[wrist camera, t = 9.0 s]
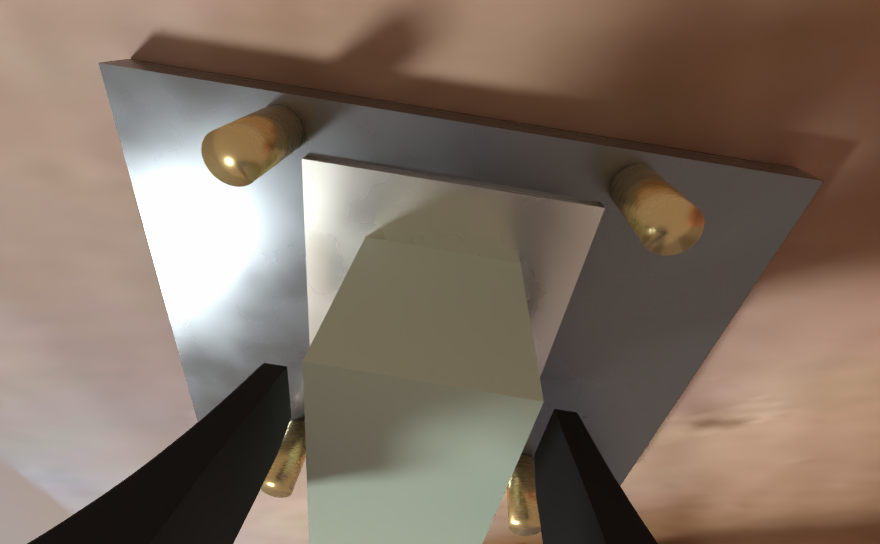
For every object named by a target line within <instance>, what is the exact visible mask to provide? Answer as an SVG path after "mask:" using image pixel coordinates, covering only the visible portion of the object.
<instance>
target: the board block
mask: <svg viewBox="0 0 880 544" xmlns="http://www.w3.org/2000/svg"><path fill="white" fill-rule="evenodd" d="M303 386H304V412H305V439H306V466H307V493H308V520H309V544H482V543H483V541H484V539H485V536H486V534H487V532H488V530H489V527H490V525H491V523H492V520H493V518H494V516H495V513H496V511H497V509H498V506H499V504H500V502H501V499H502V497H503V495H504V493H505V490H506V488H507V486H508V483H509V481H510V479H511V476H512V474H513V472H514V469H515V467H516V465H517V463H518V460H519V458H520V456H521V453H522V451H523V449H524V446H525V444H526V442H527V439H528V437H529V435H530V432H531V430H532V428H533V426H534V423H535V421H536V419H537V416H538V414H539V412H540V409H541V407H542V405H543V402H544V400H543V394H542V388H541V382H540V376H539V370H538V364H537V358H536V353H535V347H534V341H533V335H532V329H531V323H530V317H529V311H528V305H527V299H526V293H525V287H524V281H523V275H522V269H521V263H516V262H511V261H505V260H499V259H493V258H488V257H482V256H476V255H470V254H464V253H459V252H453V251H447V250H441V249H436V248H430V247H424V246H418V245H413V244H407V243H401V242H395V241H390V240H384V239H378V238H372V237H367V236H366V237H365V239H364V241H363V243H362V244H361V246H360V248H359V250H358V252H357V254H356V256H355V258H354V260H353V262H352V264H351V266H350V268H349V270H348V272H347V274H346V276H345V278H344V280H343V282H342V284H341V286H340V288H339V290H338V292H337V294H336V296H335V298H334V300H333V302H332V304H331V306H330V308H329V310H328V312H327V314H326V316H325V318H324V320H323V322H322V324H321V326H320V328H319V330H318V332H317V334H316V336H315V338H314V339H313V341H312V343H311V345H310V347H309V349H308V351H307V353H306V355H305V357H304V359H303Z"/></svg>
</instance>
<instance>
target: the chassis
mask: <svg viewBox="0 0 880 544" xmlns="http://www.w3.org/2000/svg"><path fill="white" fill-rule="evenodd" d="M99 66H100V70H101V73H102V77H103V80H104V84H105V88H106V91H107V95H108V99H109V102H110V106H111V109H112V113H113V117H114V120H115V124H116V128H117V131H118V135H119V138H120V142H121V146H122V149H123V153H124V156H125V160H126V164H127V167H128V171H129V175H130V178H131V182H132V185H133V189H134V193H135V196H136V200H137V203H138V207H139V211H140V214H141V218H142V222H143V225H144V229H145V232H146V236H147V240H148V243H149V247H150V250H151V254H152V258H153V261H154V265H155V269H156V272H157V276H158V279H159V283H160V287H161V290H162V294H163V297H164V301H165V305H166V308H167V312H168V316H169V319H170V323H171V326H172V330H173V334H174V337H175V341H176V344H177V348H178V352H179V355H180V359H181V363H182V366H183V370H184V373H185V377H186V381H187V384H188V388H189V391H190V395H191V399H192V402H193V406H194V410H195V413H196V417H197V420H198V422H199V421H200V420H201V419H202V418H203V417H205V416H206V415H207V414H208V413H209V412H210V411H211V410H213V409H214V408H215V407H216V406H217V405H218V404H219V403H221V402H222V401H223V400H224V399H225V398H226V397H227V396H228V395H229V394H231V393H232V392H233V391H234V390H235V389H236V388H237V387H238V386H239V385H240V384H241V383H242V382H244V381H245V380H246V379H247V378H248V377H249V376H250V375H251V374H252V373H253V372H254V371H255V370H256V369H257V368H258V367H259V366H261V365H262V364H264V363H268V364H275V365H281V366H287V371H288V382H289V394H290V406H291V419H290V422H289V425H288V427H287V430H286V433H285V436H284V439H283V441H282V444H281V446H280V449H279V452H278V454H277V456H276V458H275V460H274V463H273V465H272V467H271V469H270V471H269V473H268V475H267V477H266V479H265V481H264V483H263V485H262V487H261V490H262V491H263V492H265V493H266V494H268V495H271V496H274V497H288V496H290V495H291V494H292V491H293V489H294V486H295V484H296V481H297V478H298V476H299V473H300V471H301V468H302V466H303V463H304V460H305V458H306V439H305V412H304V386H303V359H304V357H305V355H306V353H307V351H308V349H309V347H310V345H311V343H312V341H313V339H314V338H315V336H316V334H317V332H318V330H319V328H320V326H321V324H322V322H323V320H324V318H325V316H326V314H327V312H328V310H329V308H330V306H331V304H332V302H333V300H334V298H335V296H336V294H337V292H338V290H339V288H340V286H341V284H342V282H343V280H344V278H345V276H346V274H347V272H348V270H349V268H350V266H351V264H352V262H353V260H354V258H355V256H356V254H357V252H358V250H359V248H360V246H361V244H362V243H363V241H364V239H365V237H366V236H367V237H372V238H378V239H384V240H390V241H395V242H401V243H407V244H413V245H418V246H424V247H430V248H436V249H441V250H447V251H453V252H459V253H464V254H470V255H476V256H482V257H488V258H493V259H499V260H505V261H511V262H516V263H521V269H522V275H523V281H524V287H525V293H526V299H527V305H528V311H529V317H530V323H531V329H532V335H533V341H534V347H535V353H536V358H537V364H538V370H539V376H540V382H541V388H542V394H543V400H544V402H543V405H542V407H541V409H540V412H539V414H538V416H537V419H536V421H535V423H534V426H533V428H532V430H531V432H530V435H529V437H528V439H527V442H526V444H525V446H524V449H523V451H522V453H521V456H520V458H519V460H518V463H517V465H516V467H515V469H514V472H513V474H512V476H511V479H510V481H509V483H508V486H507V502H508V519H509V529H510V530H511V531H512V532H513V533H515V534H518V535H523V536H530V535H535V534H537V533H539V532H540V531H541V526H540V519H539V513H538V506H537V499H536V488H535V463H534V454H535V452H536V449H537V447H538V445H539V443H540V440H541V438H542V436H543V433H544V431H545V429H546V427H547V424H548V422H549V420H550V417H551V415H552V413H553V411H554V409H559V410H565V411H572V412H577V413H578V415H579V416H580V418H581V420H582V421H583V423H584V425H585V427H586V429H587V430H588V432H589V434H590V436H591V438H592V439H593V441H594V443H595V445H596V446H597V448H598V450H599V452H600V453H601V455H602V457H603V458H604V460H605V462H606V464H607V465H608V467H609V469H610V470H611V472H612V474H613V475H614V477H615V479H616V480H617V482H618V483H619V485H621V484H622V482H623V481H624V479H625V478H626V476H627V475H628V473H629V472H630V470H631V469H632V467H633V466H634V464H635V463H636V461H637V460H638V459H639V457H640V456H641V454H642V453H643V451H644V450H645V448H646V447H647V445H648V444H649V442H650V441H651V439H652V438H653V436H654V435H655V433H656V432H657V430H658V429H659V427H660V426H661V424H662V423H663V421H664V420H665V418H666V417H667V415H668V414H669V412H670V411H671V409H672V408H673V406H674V405H675V403H676V402H677V400H678V399H679V397H680V396H681V394H682V393H683V391H684V390H685V388H686V387H687V385H688V384H689V382H690V381H691V379H692V378H693V376H694V375H695V373H696V372H697V370H698V369H699V367H700V366H701V364H702V363H703V361H704V360H705V358H706V357H707V355H708V354H709V352H710V351H711V349H712V348H713V346H714V345H715V343H716V342H717V340H718V339H719V337H720V336H721V335H722V333H723V332H724V330H725V329H726V327H727V326H728V324H729V323H730V321H731V320H732V318H733V317H734V315H735V314H736V312H737V311H738V309H739V308H740V306H741V305H742V303H743V302H744V300H745V299H746V297H747V296H748V294H749V293H750V291H751V290H752V288H753V287H754V285H755V284H756V282H757V281H758V279H759V278H760V276H761V275H762V273H763V272H764V270H765V269H766V267H767V266H768V264H769V263H770V261H771V260H772V258H773V257H774V255H775V254H776V252H777V251H778V249H779V248H780V246H781V245H782V243H783V242H784V240H785V239H786V237H787V236H788V234H789V233H790V231H791V230H792V228H793V227H794V225H795V224H796V222H797V221H798V219H799V218H800V216H801V215H802V213H803V212H804V211H805V209H806V208H807V206H808V205H809V203H810V202H811V200H812V199H813V197H814V196H815V194H816V193H817V191H818V190H819V188H820V187H821V185H822V184H823V182H824V181H822V180H820V179H818V178H816V177H814V176H812V175H810V174H808V173H806V172H804V171H802V170H800V169H798V168H792V167H786V166H780V165H773V164H767V163H761V162H755V161H749V160H743V159H737V158H731V157H724V156H718V155H712V154H706V153H700V152H694V151H688V150H682V149H676V148H669V147H663V146H657V145H651V144H645V143H639V142H633V141H627V140H620V139H614V138H608V137H602V136H596V135H590V134H584V133H578V132H572V131H565V130H559V129H553V128H547V127H541V126H535V125H529V124H523V123H516V122H510V121H504V120H498V119H492V118H486V117H480V116H474V115H468V114H461V113H455V112H449V111H443V110H437V109H431V108H425V107H419V106H412V105H406V104H400V103H394V102H388V101H382V100H376V99H370V98H364V97H357V96H351V95H345V94H339V93H333V92H327V91H321V90H315V89H308V88H302V87H296V86H290V85H284V84H278V83H272V82H266V81H260V80H253V79H247V78H241V77H235V76H229V75H223V74H217V73H211V72H204V71H198V70H192V69H186V68H180V67H174V66H168V65H162V64H156V63H149V62H143V61H137V60H131V59H124V60H117V61H109V62H101V63H99Z"/></svg>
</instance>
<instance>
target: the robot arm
mask: <svg viewBox="0 0 880 544" xmlns="http://www.w3.org/2000/svg"><path fill="white" fill-rule="evenodd" d="M290 419H291V406H290V394H289V382H288V371H287V366H281V365H275V364H268V363H264V364H262V365H261V366H259V367H258V368H257V369H256V370H255V371H254V372H253V373H252V374H251V375H250V376H249V377H248V378H247V379H246V380H245V381H244V382H242V383H241V384H240V385H239V386H238V387H237V388H236V389H235V390H234V391H233V392H232V393H231V394H229V395H228V396H227V397H226V398H225V399H224V400H223V401H222V402H221V403H219V404H218V405H217V406H216V407H215V408H214V409H213V410H211V411H210V412H209V413H208V414H207V415H206V416H205V417H203V418H202V419H201V420H200V421H199V422H198V423H196V424H195V425H194V426H193V427H192V428H191V429H189V430H188V431H187V432H186V433H185V434H183V435H182V436H181V437H180V438H178V439H177V440H176V441H175V442H173V443H172V444H171V445H170V446H168V447H167V448H166V449H165V450H163V451H162V452H161V453H160V454H158V455H157V456H156V457H155V458H153V459H152V460H151V461H149V462H148V463H147V464H145V465H144V466H143V467H141V468H140V469H139V470H137V471H136V472H135V473H133V474H132V475H131V476H129V477H128V478H126V479H125V480H124V481H122V482H121V483H119V484H118V485H117V486H115V487H114V488H112V489H111V490H109V491H108V492H107V493H105V494H104V495H102V496H101V497H99V498H98V499H96V500H95V501H93V502H92V503H90V504H89V505H87V506H86V507H84V508H83V509H81V510H80V511H78V512H77V513H75V514H74V515H72V516H71V517H69V518H68V519H66V520H65V521H63V522H62V523H60V524H58V525H57V526H55V527H54V528H52V529H51V530H49V531H47V532H46V533H44V534H43V535H41V536H39V537H38V538H36V539H34V540H33V541H31V542H29V543H28V544H233V543H234V541H235V539H236V537H237V535H238V533H239V531H240V529H241V527H242V525H243V523H244V521H245V519H246V517H247V515H248V513H249V511H250V509H251V507H252V505H253V503H254V501H255V499H256V497H257V495H258V493H259V491H260V489H261V487H262V485H263V483H264V481H265V479H266V477H267V475H268V473H269V471H270V469H271V467H272V465H273V463H274V460H275V458H276V456H277V454H278V452H279V449H280V446H281V444H282V441H283V439H284V436H285V433H286V430H287V427H288V425H289V422H290ZM534 463H535V488H536V499H537V506H538V513H539V519H540V526H541V533H542V539H543V544H658V543H657V542H656V540H655V539H654V537H653V536H652V534H651V533H650V531H649V530H648V528H647V527H646V525H645V524H644V523H643V521H642V520H641V518H640V517H639V515H638V514H637V512H636V510H635V509H634V507H633V506H632V504H631V503H630V501H629V500H628V498H627V496H626V495H625V493H624V492H623V490H622V488H621V487H620V485H619V483H618V482H617V480H616V479H615V477H614V475H613V474H612V472H611V470H610V469H609V467H608V465H607V464H606V462H605V460H604V458H603V457H602V455H601V453H600V452H599V450H598V448H597V446H596V445H595V443H594V441H593V439H592V438H591V436H590V434H589V432H588V430H587V429H586V427H585V425H584V423H583V421H582V420H581V418H580V416H579V415H578V413H577V412H572V411H565V410H559V409H554V411H553V413H552V415H551V417H550V420H549V422H548V424H547V427H546V429H545V431H544V433H543V436H542V438H541V440H540V443H539V445H538V447H537V449H536V452H535V454H534Z"/></svg>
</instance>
